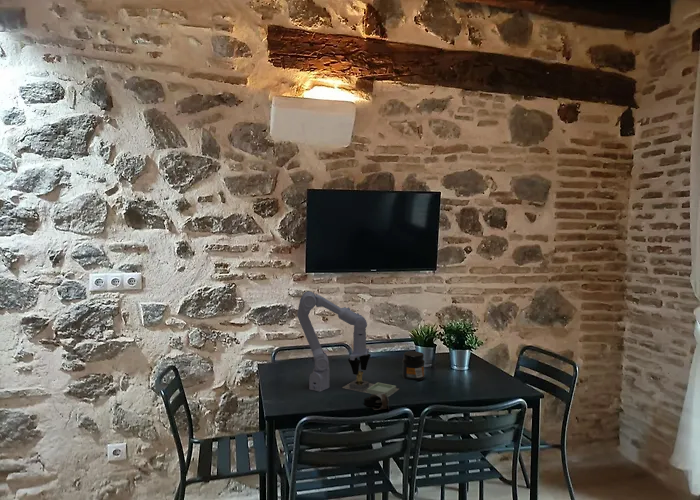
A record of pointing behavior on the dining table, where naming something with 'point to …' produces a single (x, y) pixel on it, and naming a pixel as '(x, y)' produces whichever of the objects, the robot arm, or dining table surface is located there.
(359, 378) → the lock pin
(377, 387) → the tray
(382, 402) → the caster wheel
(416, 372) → the supplement container
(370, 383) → the plate
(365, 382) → the tensioner collar
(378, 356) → the dining table surface
